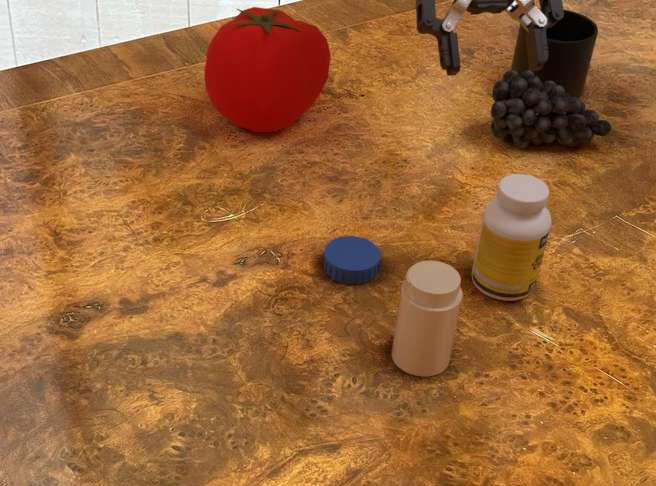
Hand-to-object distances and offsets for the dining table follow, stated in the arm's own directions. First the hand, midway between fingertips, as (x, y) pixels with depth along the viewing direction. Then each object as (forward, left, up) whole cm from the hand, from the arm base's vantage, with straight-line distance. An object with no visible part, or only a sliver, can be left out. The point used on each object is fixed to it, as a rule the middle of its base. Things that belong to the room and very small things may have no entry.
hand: (496, 71), depth 104 cm
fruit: (-11, -16, -18) cm, 26 cm away
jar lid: (+13, +9, -16) cm, 23 cm away
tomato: (+22, -20, -18) cm, 35 cm away
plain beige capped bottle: (+7, +22, -18) cm, 29 cm away
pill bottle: (-2, +11, -18) cm, 21 cm away
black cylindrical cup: (-14, -30, -18) cm, 37 cm away
